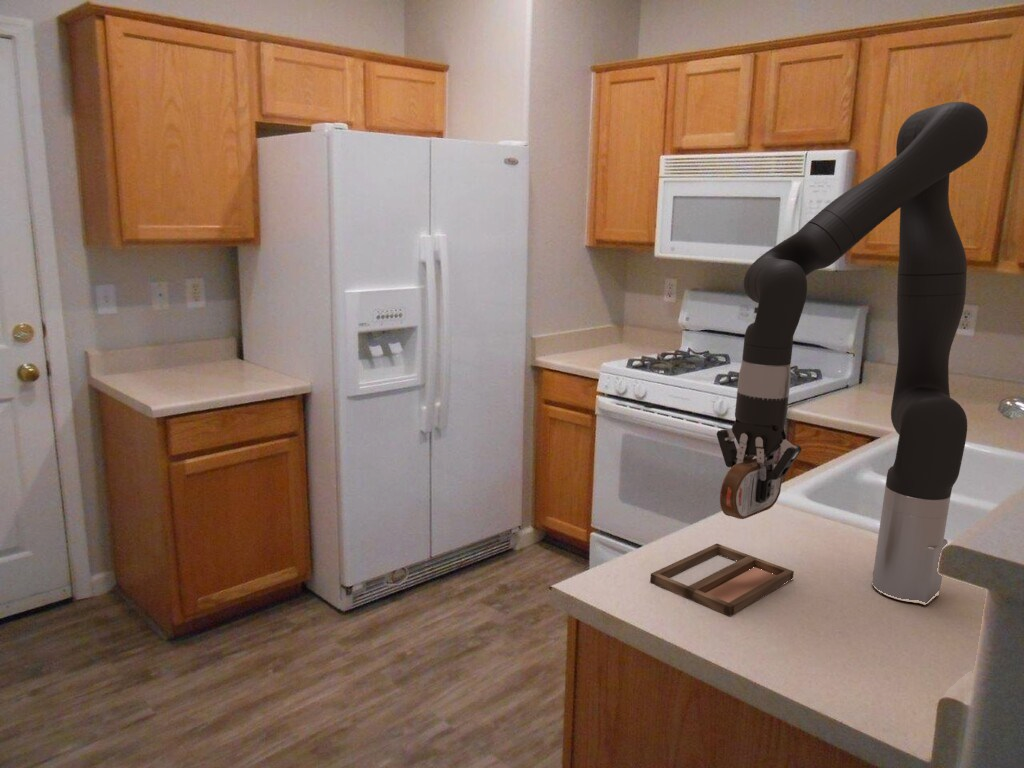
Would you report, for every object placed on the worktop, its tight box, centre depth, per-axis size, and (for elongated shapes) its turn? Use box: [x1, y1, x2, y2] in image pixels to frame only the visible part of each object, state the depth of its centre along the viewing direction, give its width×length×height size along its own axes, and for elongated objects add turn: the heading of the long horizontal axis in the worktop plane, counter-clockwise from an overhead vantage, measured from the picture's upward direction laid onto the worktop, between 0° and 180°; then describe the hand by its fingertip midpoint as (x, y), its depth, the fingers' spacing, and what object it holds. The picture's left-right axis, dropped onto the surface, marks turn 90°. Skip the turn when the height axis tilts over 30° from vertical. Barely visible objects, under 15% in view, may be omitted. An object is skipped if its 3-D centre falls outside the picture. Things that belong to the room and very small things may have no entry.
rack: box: [649, 543, 795, 617], centre depth 129 cm, size 15×20×2 cm
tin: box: [719, 457, 783, 520], centre depth 123 cm, size 15×3×8 cm, turn 133°
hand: (751, 498), depth 123 cm, fingers closed on tin, 2 cm apart
